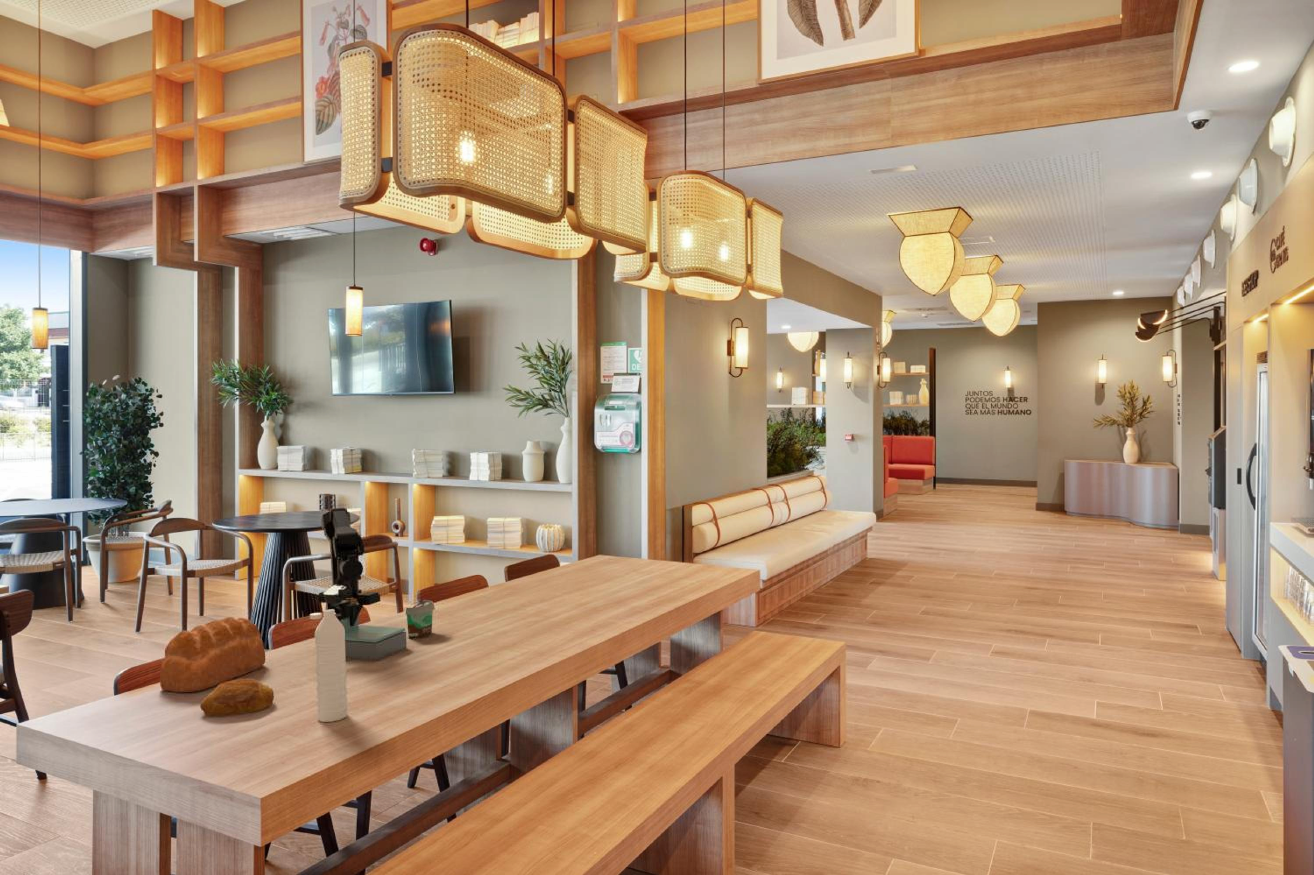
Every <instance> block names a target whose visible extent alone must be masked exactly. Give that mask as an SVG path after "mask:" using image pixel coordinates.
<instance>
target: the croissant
mask: <svg viewBox="0 0 1314 875" xmlns="http://www.w3.org/2000/svg"><path fill="white" fill-rule="evenodd" d="M274 699H275V695H274V690H273V688H271V687H269V685H266V684H263V682H260V681H259V680H257V679H255V678H250V677H249V678H238V679H231V680H228V681H226V682H224V683H221V684H218V685H216V687H215V688H214V690H212V691H210V693H209V694H207V696H206V697H204V699H203V700H202V701H201V703H200V706H199V707H200V710H201V711H202V712H203V715H206V716H207V717H224V716H233V715H234V716H235V715H241V714H248V713H253V712H256V711H257V712H258V711H261V710H264V709H266V708H268V707H271V705H272V704H273V703H274V702H273V701H274Z"/></svg>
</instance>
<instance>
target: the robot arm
mask: <svg viewBox="0 0 1314 875" xmlns="http://www.w3.org/2000/svg"><path fill="white" fill-rule="evenodd" d="M320 521H321V522H320V524H321V525H320V526H321V529H322V530H323V534H324V536H325V538H326V539H327V540H328V542H329V546H330V547H329V550H330V568H331V584H332V586H331V587H329V588H328V589H327V590H325V591H321V592H319V593H318V595H317V596H316V598H317V603H318V604H320V603H322V604H325V608H324V609H325V610H329V609H333V610H335V611H334V612H335V613H336V614H335V616H336V618H337V619H338V620H339V621H340V622H341V619H344V618H347V617H350V625H351V627H352V626H354V624H355V622H356V620H357V617H358V618H359V615H360V613H361V611H362V609H363V607H364V606H370V605H373V604H376V603H379V602H381V595H380V593H379V592H378V591H377V592H376V591H367V592H363V591H362V589H359V588H360V587H359V584H360V583H359V581H360V580H362V576H361V575H362V574H363V572H364V566H363V564H362V562H361V561H360V560H359V556H364V553H365V545H364V540H363V537H362V535H360V534H359V532H358V530H357V529H356V528H354V527H351V523H352V522H351V513H350V512H349V510H348V509H347V508H346V507H334V508H333V507H332V508H330V509H329V511H328V512H326V513H323V514H322V516H321V520H320ZM362 592H363V593H362ZM325 610H324V611H325Z"/></svg>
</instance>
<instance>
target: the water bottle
mask: <svg viewBox="0 0 1314 875" xmlns="http://www.w3.org/2000/svg"><path fill="white" fill-rule="evenodd" d="M334 611H335V610H333V609H329V610H324V611H323V614H322V612H313V613H310V614H309V619H310V620H320V619H321V620H320V622H319V624H318V625H317V627H316V629H315V631H314V642H315V645H314V646H315V647H314V648H315V674H316V676H315V677H316V678H315V682H316V698H317V700H316V707H317V709H316V713H317V714H316V718H317V721H320V722H323V723H326V722H327V723H330V722H331V723H332V722H335V721H336V722H337V721H342V720H343V719H345V718H347V716H348V697H347V694H348V692H347V691H348V689H347V661H346V659H347V658H345V656H346V655H345V629H344V627H343V625H342V624H341V622H340V621H339V620H338V619H337V618H336V616H335V614H336V613H335V612H334Z"/></svg>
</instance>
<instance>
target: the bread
mask: <svg viewBox="0 0 1314 875" xmlns="http://www.w3.org/2000/svg"><path fill="white" fill-rule="evenodd" d="M265 651H266V650H265V647H264V642H263V640H262V638H261V632H260V630H259V628H258V625H256V624H254V623H253V622H252V621H251V620H250V619H248V618H245V617H238V618H234V617H233V616H229V617H225V618H221V619H220V620H213V621H210V622H207V623H205V624H204V625H196V626H195V627H193V628H192V629H191V630H190V631H189V630H185V629H183V630H181V631H180V632H179V633H177V634H176V635H175V636H174V637H173V638H171V640H169V642H168V643H167V645H166V647H165V650H164V660H163V662H162V663H161V667H160V674H159V675H160V676H159V677H160V683H159V684H160V688H161V690H163V691H167V692H175V693H193V692H195V693H196V692H200V691H204V690H207V689H209V688H212V687H214V686H218V685H219V684H221V683H224V682H228V681H232V680H234V678H237V677H241V676H244V675H245V674H248V673H251V672H253V671H256V670H257V669H260V668H261V667H263V666H264V664H265V663H266V652H265Z"/></svg>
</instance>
